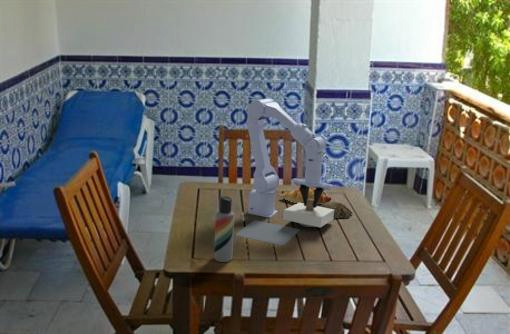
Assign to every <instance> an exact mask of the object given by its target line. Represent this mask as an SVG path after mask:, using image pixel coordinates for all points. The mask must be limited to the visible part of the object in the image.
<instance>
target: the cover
mask: <svg viewBox="0 0 510 334" xmlns="http://www.w3.org/2000/svg"><path fill="white" fill-rule="evenodd" d="M313 204H314V199H307V201H306V206H304V203H297V204H295V203H294V204H293V205H291V206H289V207H287V208H285V209H283V218H282V220H285V221H289V222H294V223H298V224H299V223H302V224H306V225H311V226H316V227H317V228H322V227H323V226H325V225H326V224H328V223H329V222H331V221H332V220H334V209H329V208H324V207H320V206H319V205H317V207H316V208H313ZM316 227H315V228H316Z"/></svg>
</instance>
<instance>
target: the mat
mask: <svg viewBox="0 0 510 334" xmlns="http://www.w3.org/2000/svg"><path fill="white" fill-rule="evenodd" d="M300 231H301V229H300V228H296V227H290V226H285V225H280V224H276V223H272V222H271V223H270V222H265V221H262V220H261V221H260V220H256V219H254V220H253V221H251V222H250V223H248V224H247V225H246V226H245V227H243V228H242V229H240V230H239V231H238V232H237V233H234V236H236V237H237V236H238V237H243V238H247V239H251V240H256V241H260V242H264V243H269V244H273V245H278V246H283V247H284V246H285V245H286V244H287V243H288V242H289V241H290V240H291V239H292V238H294V236H295V235H296V234H297V233H299V232H300Z"/></svg>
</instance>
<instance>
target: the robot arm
mask: <svg viewBox="0 0 510 334" xmlns="http://www.w3.org/2000/svg"><path fill="white" fill-rule="evenodd" d="M247 112H248V113H247V120H246V125H247V131H248V136H249V139H250V145H251V148H252V152H253V158H254V163H255V171H254V173H253V183H252V184H253V189H251V190H250V193H249V197H248V211H247V214H251V215H255V216H261V217H265V218H272V217H273V216H274V215H276V214H277V213H278V210H275V202H276V200H275V199H276V189H277V187H278V186H279V185H280V177H279V176H278V174H277V172H276V168H274V167H273V166H272V165H271V162H270V157H269V151H268V147H267V142H266V138H265V137H266V136H265V133H264V128H263V124H264V123H265V121H266V119H268V118H272V119H275V120H277V121H278V122H279V123H280V124H281V125H283V126H284V127H286V128H287V129H288V130H289V131H290V135H291V137H293V138H294V139H295V140H296V141H297V142H298V143H300V145H302V146H303V149H304V150H305V153H306V158H305V159H306V160H305V171H304V178H297V177H296V178H293V179H292V181H291V183H292V184H291V185H292V186H293V185H294V186H295V185H297V186H299V190H300V192H301V194H302V197H303V202H304V206H306V201H307V199H308V193H309V188H310V187H311V188H313V189H314V204H313V208H316V207H317V206H318V205H319V204H318V201H319V198H320V196H321V194H323V193H324V191H325V190H326V191H328V192H331V191H332V190H333V184H331V183H327V182H323V181H321V178H322V170H323V169H322V167H323V156H324V151H325V150H326V148H327V141H326V140H325V139H324V137H323V136H321V135H317V134H316V133H315V132H313V131H311V130H310V129H309V127H307V126H308V125H307V124H305V123H302V122H299V123H298V122H296V121H295V120H294V119H293V118H292V117H291V116H290V115H289V114H288V113H287V112H286V111H285V110H284V109H283V108H282V107H281V106H280V105H279V103H278V102H277V101H275V100H274V99H272V98H270V97H266V98H262V99H253V100H252V101H251V102H250V104H249V105H248V106H247Z"/></svg>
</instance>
